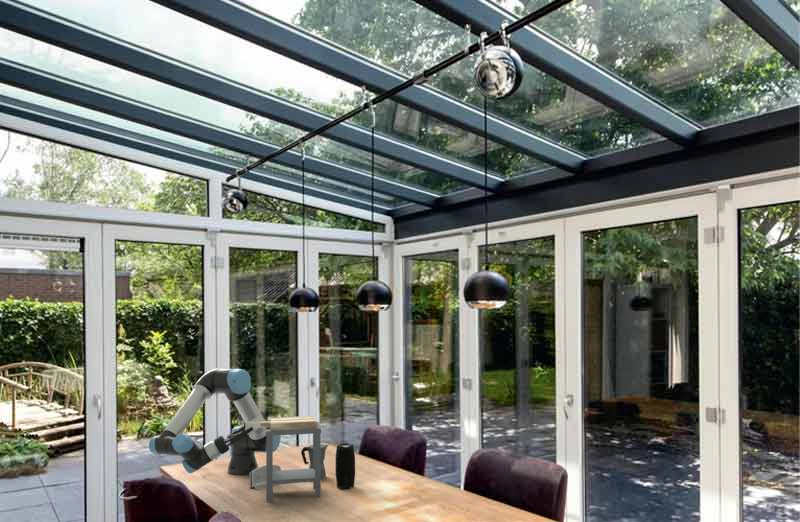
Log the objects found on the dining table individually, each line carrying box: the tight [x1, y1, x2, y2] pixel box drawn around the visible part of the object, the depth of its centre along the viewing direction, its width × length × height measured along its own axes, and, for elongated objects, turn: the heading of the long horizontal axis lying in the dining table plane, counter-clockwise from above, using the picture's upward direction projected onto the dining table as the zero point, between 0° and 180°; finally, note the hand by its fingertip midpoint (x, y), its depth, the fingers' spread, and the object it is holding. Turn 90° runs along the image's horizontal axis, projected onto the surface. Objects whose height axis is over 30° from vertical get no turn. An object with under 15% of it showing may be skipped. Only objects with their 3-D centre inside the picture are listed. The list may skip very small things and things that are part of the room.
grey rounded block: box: [248, 464, 282, 490], centre depth 294 cm, size 17×5×10 cm, turn 132°
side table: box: [265, 421, 322, 503], centre depth 279 cm, size 18×24×30 cm
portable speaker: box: [335, 442, 356, 491], centre depth 287 cm, size 9×9×20 cm
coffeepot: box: [300, 443, 329, 480], centre depth 306 cm, size 15×9×18 cm, turn 129°
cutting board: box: [245, 415, 317, 431], centre depth 279 cm, size 16×31×3 cm, turn 101°
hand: (260, 420), depth 277 cm, fingers open, 13 cm apart
